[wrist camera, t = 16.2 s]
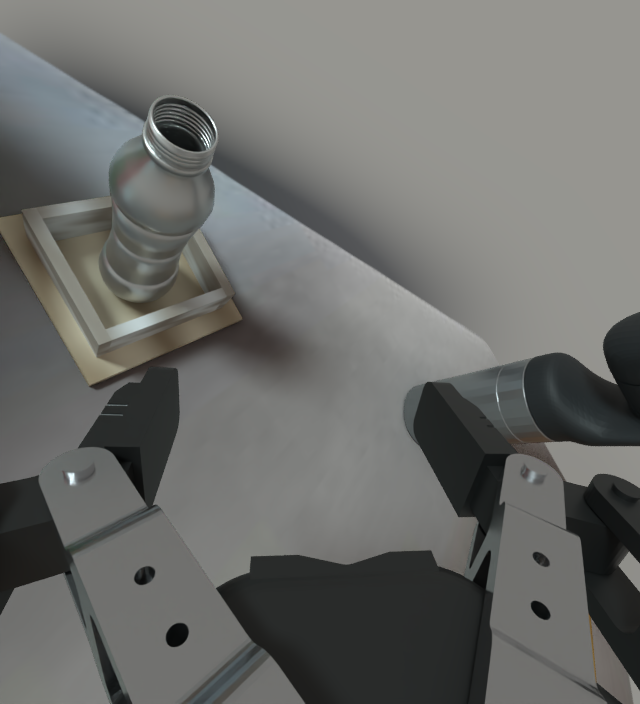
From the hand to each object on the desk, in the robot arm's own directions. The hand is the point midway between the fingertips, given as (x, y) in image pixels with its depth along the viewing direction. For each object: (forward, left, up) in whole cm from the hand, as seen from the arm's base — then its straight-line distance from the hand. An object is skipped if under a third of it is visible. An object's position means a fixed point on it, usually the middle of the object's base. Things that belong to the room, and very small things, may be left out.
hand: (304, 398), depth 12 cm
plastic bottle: (-6, -15, -27) cm, 31 cm away
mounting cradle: (-6, -15, -27) cm, 32 cm away
